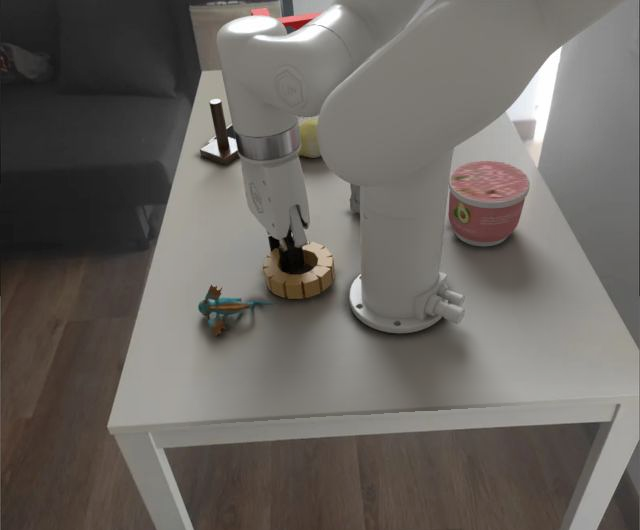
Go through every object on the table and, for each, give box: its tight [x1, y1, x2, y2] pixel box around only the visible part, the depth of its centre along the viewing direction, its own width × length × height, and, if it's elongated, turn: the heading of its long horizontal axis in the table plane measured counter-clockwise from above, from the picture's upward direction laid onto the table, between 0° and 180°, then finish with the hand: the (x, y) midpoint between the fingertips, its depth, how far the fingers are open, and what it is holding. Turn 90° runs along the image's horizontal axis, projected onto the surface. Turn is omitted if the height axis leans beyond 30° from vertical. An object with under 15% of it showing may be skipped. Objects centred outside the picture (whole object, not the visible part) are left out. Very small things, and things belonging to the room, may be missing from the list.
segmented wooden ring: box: [262, 240, 336, 300], centre depth 81 cm, size 9×9×2 cm
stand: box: [199, 98, 239, 166], centre depth 104 cm, size 6×6×9 cm
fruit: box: [298, 119, 322, 159], centre depth 103 cm, size 6×6×10 cm
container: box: [447, 160, 531, 247], centre depth 85 cm, size 10×10×8 cm
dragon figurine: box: [197, 284, 278, 337], centre depth 78 cm, size 6×7×8 cm
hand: (288, 262), depth 84 cm, fingers closed on segmented wooden ring, 2 cm apart
